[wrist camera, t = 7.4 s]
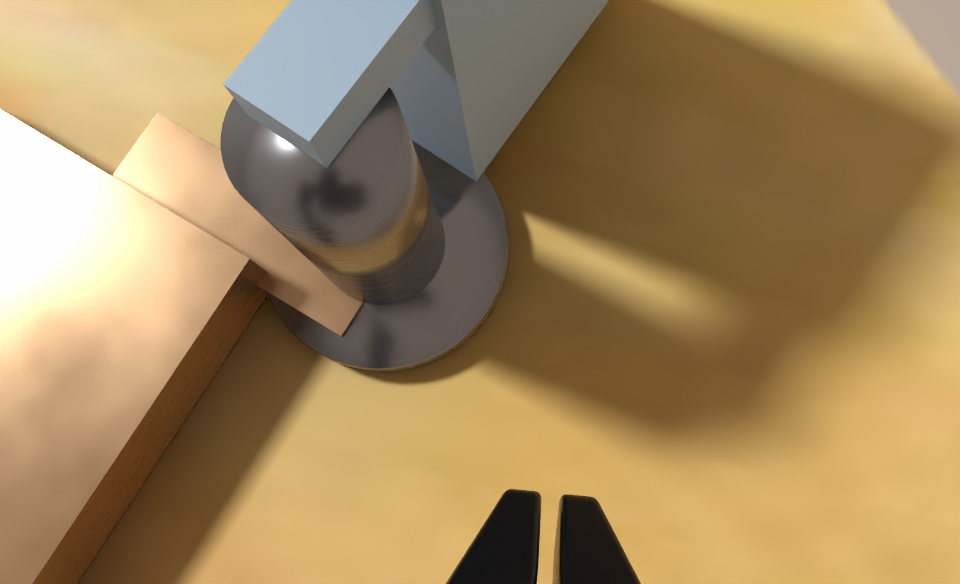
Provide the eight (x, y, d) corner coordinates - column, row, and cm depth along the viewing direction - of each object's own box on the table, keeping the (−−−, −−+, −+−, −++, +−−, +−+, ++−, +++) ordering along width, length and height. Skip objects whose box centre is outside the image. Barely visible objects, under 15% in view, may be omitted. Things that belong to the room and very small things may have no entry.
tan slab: (210, 777, 17) (0, 975, 11) (-270, 421, 20) (-690, 394, 13) (553, 207, 20) (564, 68, 13) (85, -46, 22) (-114, -276, 15)
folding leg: (405, 278, 19) (310, 134, 11) (338, 232, 19) (198, 60, 11) (624, -21, 20) (685, -347, 12) (558, -59, 20) (575, -400, 12)
